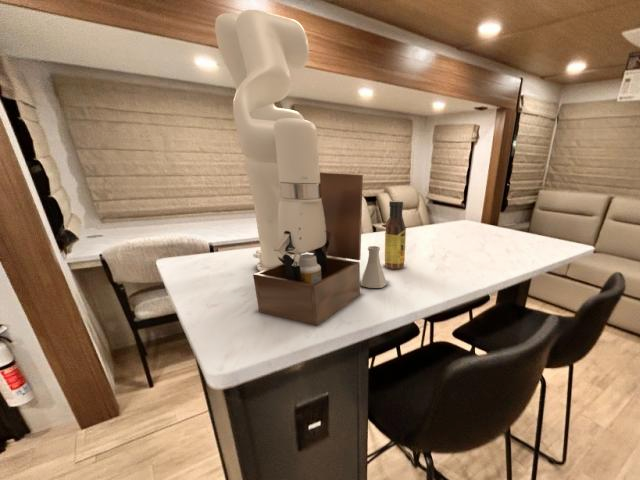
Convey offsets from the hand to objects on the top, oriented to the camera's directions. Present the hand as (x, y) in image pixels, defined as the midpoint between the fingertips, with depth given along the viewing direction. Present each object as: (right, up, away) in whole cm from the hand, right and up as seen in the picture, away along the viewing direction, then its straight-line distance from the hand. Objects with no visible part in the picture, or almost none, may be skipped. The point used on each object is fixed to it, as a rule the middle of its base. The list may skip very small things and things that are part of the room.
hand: (308, 277), depth 67 cm
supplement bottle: (0, -5, +2) cm, 6 cm away
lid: (+4, +14, +4) cm, 15 cm away
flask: (+13, -1, +16) cm, 20 cm away
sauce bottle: (+18, +5, +31) cm, 36 cm away
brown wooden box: (0, -6, +4) cm, 7 cm away
